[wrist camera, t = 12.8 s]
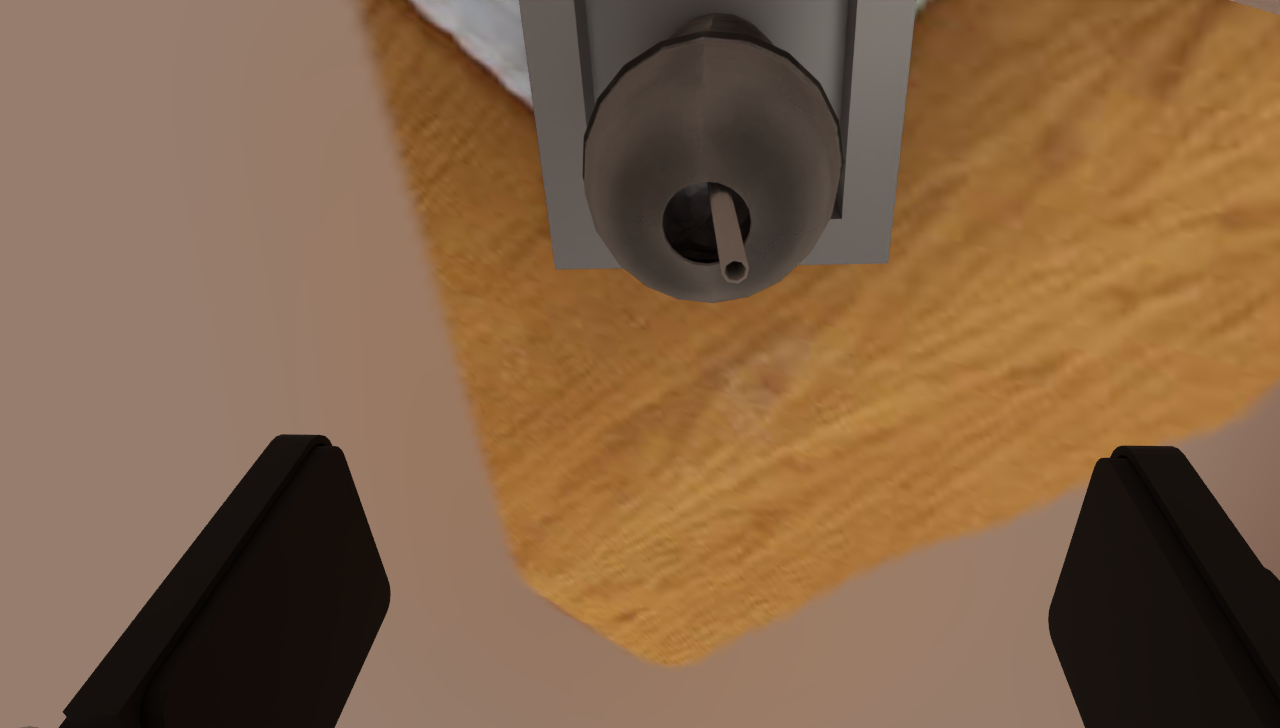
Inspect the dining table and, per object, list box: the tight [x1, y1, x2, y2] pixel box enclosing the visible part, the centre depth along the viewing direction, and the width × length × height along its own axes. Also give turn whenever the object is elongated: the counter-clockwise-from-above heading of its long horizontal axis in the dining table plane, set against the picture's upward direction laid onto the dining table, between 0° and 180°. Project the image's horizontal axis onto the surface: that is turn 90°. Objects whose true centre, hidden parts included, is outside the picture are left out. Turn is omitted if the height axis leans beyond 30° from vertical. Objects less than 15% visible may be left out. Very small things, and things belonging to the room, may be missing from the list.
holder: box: [519, 0, 917, 269], centre depth 31 cm, size 14×14×3 cm
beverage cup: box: [583, 13, 844, 303], centre depth 24 cm, size 7×7×20 cm
